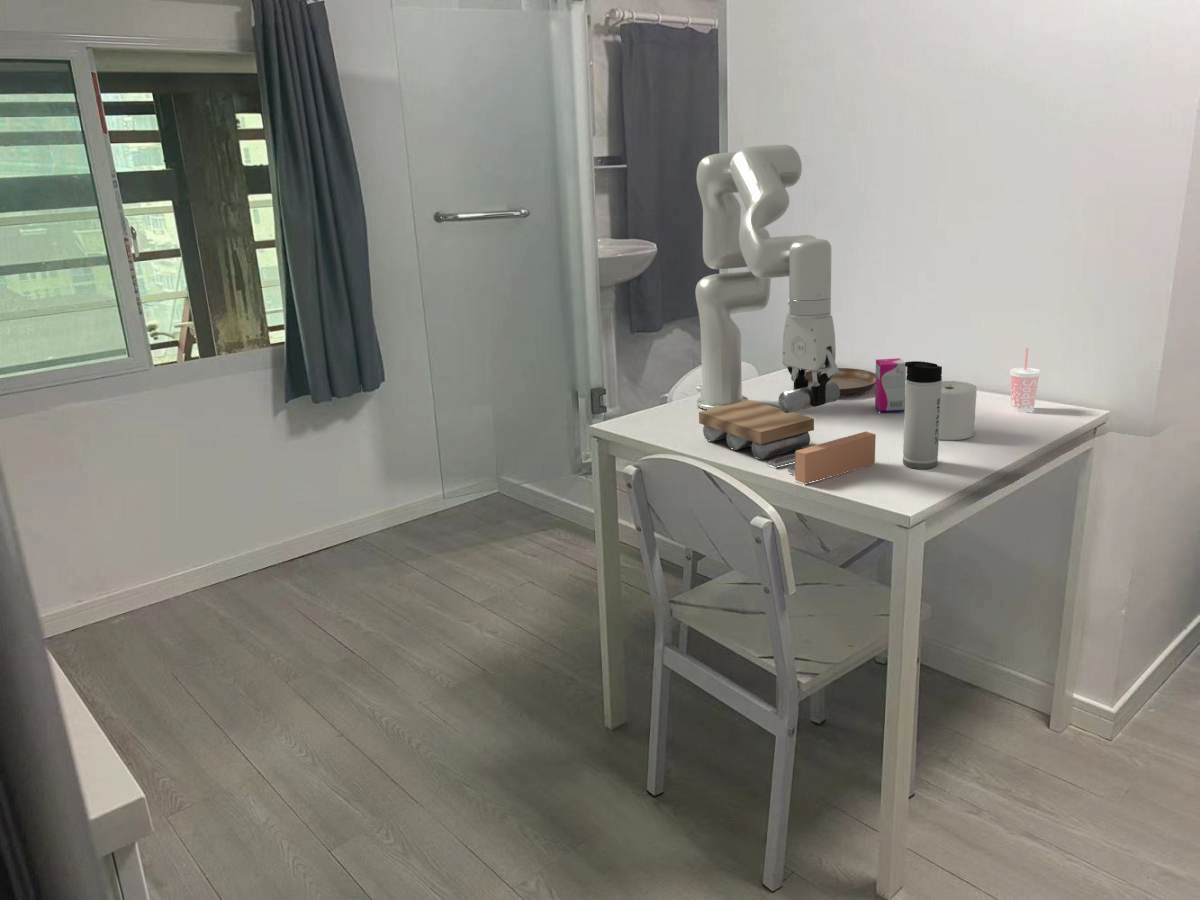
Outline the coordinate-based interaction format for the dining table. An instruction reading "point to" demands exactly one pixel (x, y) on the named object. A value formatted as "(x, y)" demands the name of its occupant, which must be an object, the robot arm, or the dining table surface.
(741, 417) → the slab
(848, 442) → the bar
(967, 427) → the toilet tissue
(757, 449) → the cylinder
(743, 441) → the middle roller
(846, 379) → the plant saucer
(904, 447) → the travel mug
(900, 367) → the supplement box
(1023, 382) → the beverage cup
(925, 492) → the dining table surface
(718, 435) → the rear roller
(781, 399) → the roller
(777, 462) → the cradle
